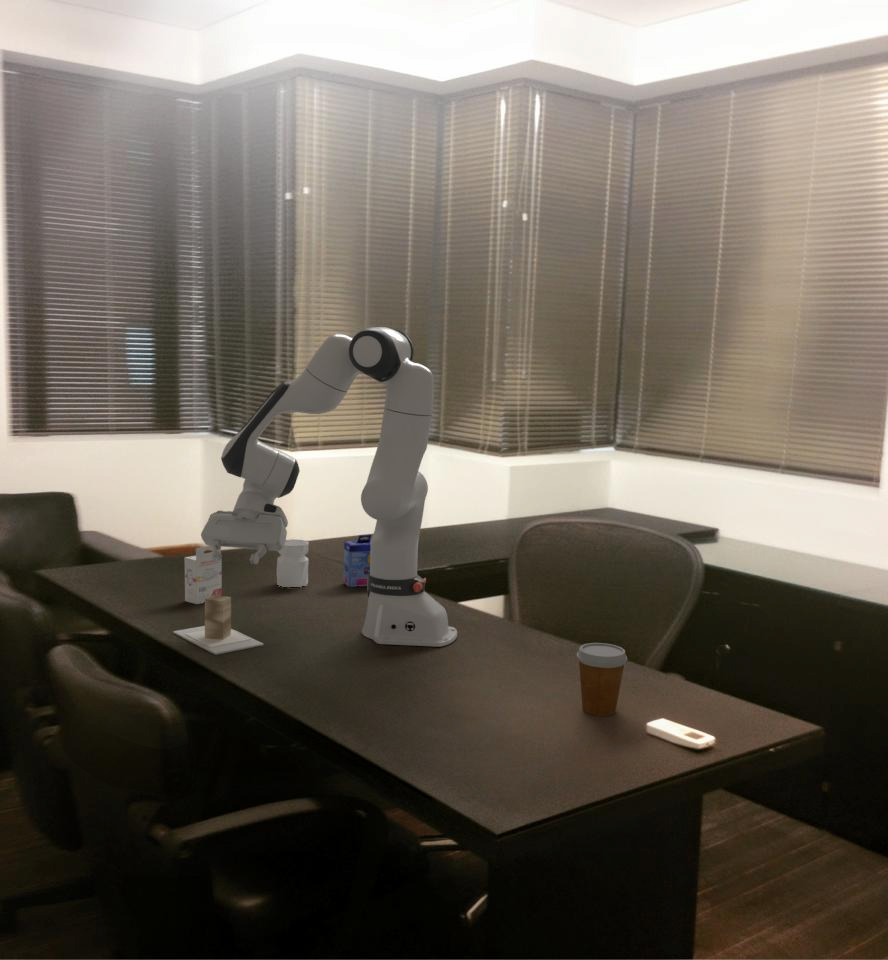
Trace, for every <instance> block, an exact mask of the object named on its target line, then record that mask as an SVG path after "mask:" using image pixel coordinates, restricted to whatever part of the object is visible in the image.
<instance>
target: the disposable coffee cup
mask: <svg viewBox="0 0 888 960" xmlns="http://www.w3.org/2000/svg"><path fill="white" fill-rule="evenodd" d="M576 657H577V659H578V665H579V679H580V693H581V705H582V706H581V707H582V708H581V709H582V711H583V712H585V713H587V714H589V715H592V716H597V717H599V716H600V717H605V716H611V715H614V714H616V710H617V706H618V699H619V696H620V695H619V694H620V689H621V685H622V680H623V678H622V677H623V672H624V669H625V664H626V663H627V661H628V657H627V655H626V650H625V649H624V648H623V647H621V646H618V645H616V644H612V643H603V642H590V643H584V644H581V645H580V646H579V649H578V651H577V652H576Z"/></svg>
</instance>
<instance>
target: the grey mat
mask: <svg viewBox="0 0 888 960" xmlns="http://www.w3.org/2000/svg"><path fill="white" fill-rule="evenodd" d="M172 633H173V634H174V635H176V636H178V637H180V638H181V639H184V640H186V641H188V642H190V643H191V644H194V645H195V646H197V647H199V648H200V649H203V650H206V652H207V651H208V652H209V653H211V654H213V655H214V656H215V655H222V654H226V653H231V652H237V651H242V650H247V649H252V648H257V647H263V646H264V643H263V642H261V641H259V640H257V639H254V638H253V637H250V636H248V635H246V634H244V633H242V632H240V631H237V630H236V629H233V628H231V635H230V636H229V637H227V638H225V639H224V640H219V639H210V638H205V625H202V626H197V627H190V628H185V629H178V630H174V631H172Z"/></svg>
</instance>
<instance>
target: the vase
mask: <svg viewBox="0 0 888 960" xmlns="http://www.w3.org/2000/svg"><path fill="white" fill-rule="evenodd" d="M309 545H310V544H309V541H308V540H304V539H296V538H295V539H294V538H292V539H289V538H288V539H286V540H285V544H284V547H283V548H282V549H281V550H279V551H277V552H278V554H279V556H278V557H277V558H276V559H277V560H276V586H277V585H279V586H278V587H280V586H282V587H281V588H283V587H300V588H303V587H302V586H305V587H306V586H308V583H309V573H308V572H309V558H308V557H307V556H306V554H308V552H309Z"/></svg>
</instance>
